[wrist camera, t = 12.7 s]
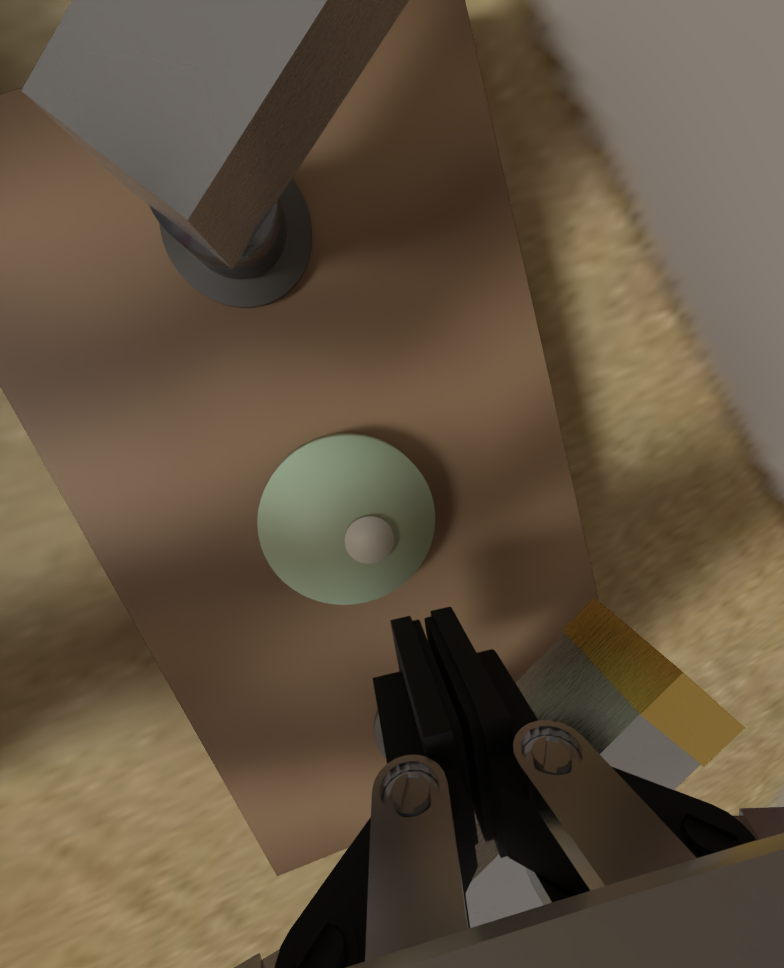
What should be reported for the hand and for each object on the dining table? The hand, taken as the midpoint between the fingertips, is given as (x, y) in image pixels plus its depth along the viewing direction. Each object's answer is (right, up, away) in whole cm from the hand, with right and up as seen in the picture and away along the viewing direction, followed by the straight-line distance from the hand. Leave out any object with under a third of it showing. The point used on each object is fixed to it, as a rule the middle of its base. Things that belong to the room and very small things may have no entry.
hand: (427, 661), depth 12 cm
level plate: (-3, +4, +4) cm, 6 cm away
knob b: (+2, -2, +3) cm, 4 cm away
